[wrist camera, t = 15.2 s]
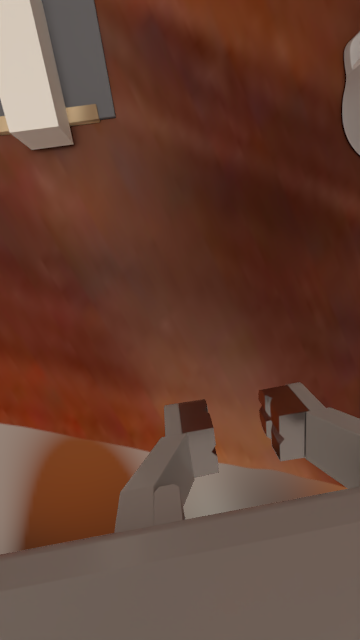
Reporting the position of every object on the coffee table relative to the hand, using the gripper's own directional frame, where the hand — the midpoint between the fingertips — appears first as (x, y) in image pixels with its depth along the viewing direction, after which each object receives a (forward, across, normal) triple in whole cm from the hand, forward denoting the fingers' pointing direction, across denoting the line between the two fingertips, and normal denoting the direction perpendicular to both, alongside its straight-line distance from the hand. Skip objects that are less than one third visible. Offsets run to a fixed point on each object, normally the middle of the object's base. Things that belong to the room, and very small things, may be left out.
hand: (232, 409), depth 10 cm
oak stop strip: (+31, +12, -21) cm, 39 cm away
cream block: (+27, +12, -18) cm, 35 cm away
